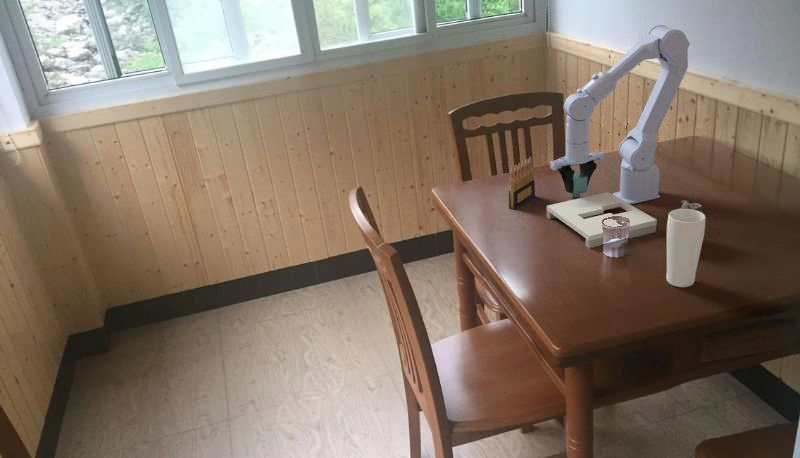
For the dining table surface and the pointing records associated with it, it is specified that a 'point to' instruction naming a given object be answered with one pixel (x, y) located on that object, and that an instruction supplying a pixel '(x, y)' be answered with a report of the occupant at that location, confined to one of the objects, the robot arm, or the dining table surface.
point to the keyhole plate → (600, 217)
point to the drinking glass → (684, 245)
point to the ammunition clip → (521, 184)
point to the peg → (578, 185)
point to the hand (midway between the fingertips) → (576, 189)
